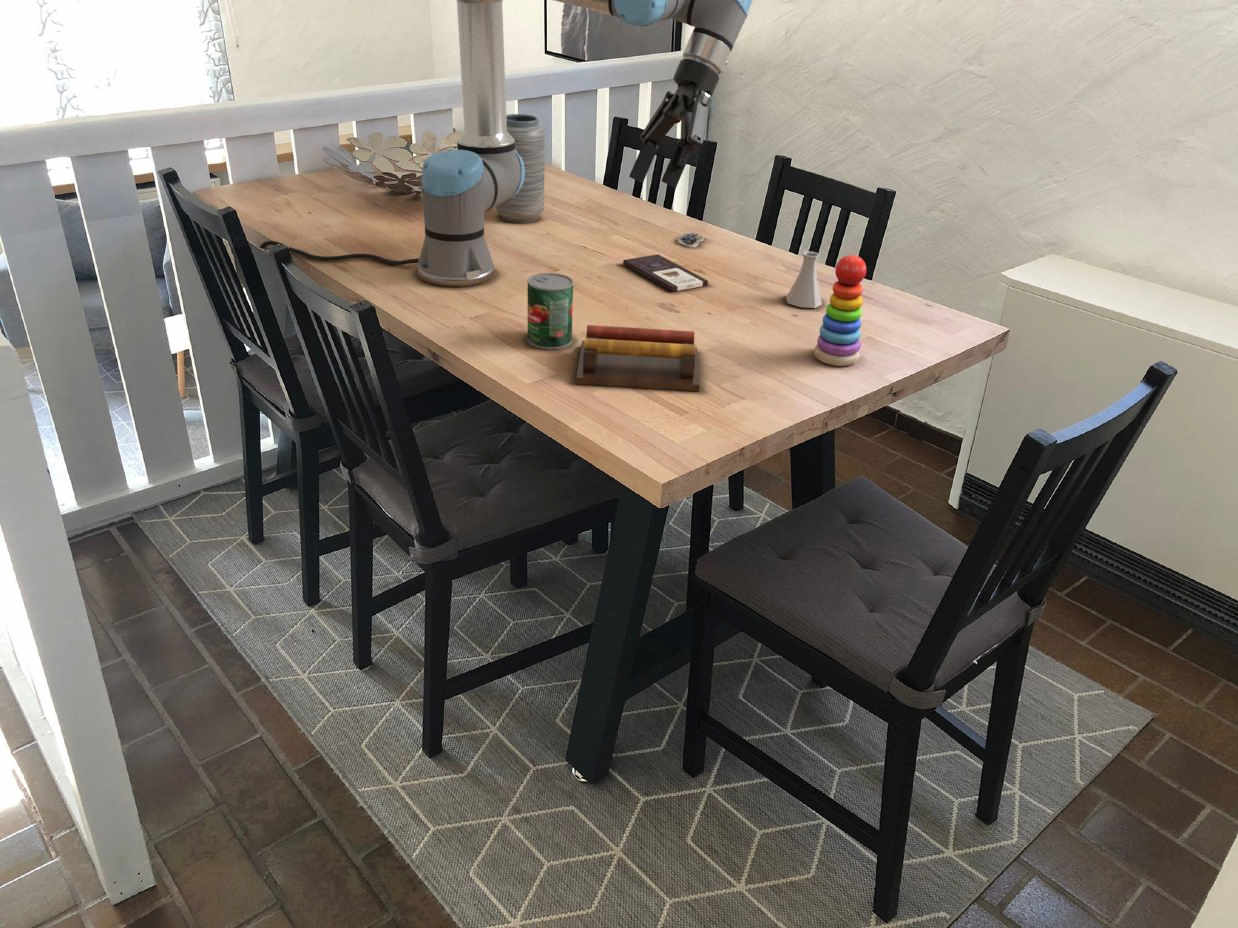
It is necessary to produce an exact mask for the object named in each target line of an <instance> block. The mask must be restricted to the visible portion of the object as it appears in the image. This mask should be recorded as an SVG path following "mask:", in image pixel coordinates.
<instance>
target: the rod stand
mask: <svg viewBox="0 0 1238 928" xmlns="http://www.w3.org/2000/svg"><path fill="white" fill-rule="evenodd" d="M695 336H696V335H695V331H694V330H693V331H692V330H680V329H679V330H678V329H662V328H661V329H660V328H647V327H646V328H645V327H631V326H630V327H629V326H612V325H598V324H597V325H596V324H587V325H586V335H585V338H584V340H582V341H581V346H580V350H579V357H578V363H577V369H576V374H575V384H576V385H585V386H587V385H588V386H603V387H604V386H605V387H620V388H635V389H650V390H651V389H652V390H653V389H654V390H668V391H684V392H700V390H701V389H700V388H701V383H700V382H701V381H700V369H699V367H700V366H699V357H698V348H697V347H696V346H697V345H696V344H695Z"/></svg>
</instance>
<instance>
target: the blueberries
mask: <svg viewBox="0 0 1238 928" xmlns="http://www.w3.org/2000/svg"><path fill="white" fill-rule="evenodd" d="M704 241H707V238H706V237H705V236H702V235H700V234H698V233H694V232H692V233H691V232H690V233H684V234H681V235H679V237H678V238H677V241H676V243H678V244H681V245H682V246H684V247H686V248H697V247H698V246H699V245H700V243H702V242H704Z"/></svg>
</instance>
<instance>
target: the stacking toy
mask: <svg viewBox="0 0 1238 928" xmlns="http://www.w3.org/2000/svg"><path fill="white" fill-rule="evenodd" d="M834 271H835V278H837V280H836V281H835V282H834V283H833V285H832V294H831V295H830V297H829V303H828V304H827V305H826V308H825V314H824V315H823V316H822V324H821V326H820V327H819V335H818V337H817V339H816V340H817V341H816V343H817V344H816V345H815V346H814V348H813V355H814V357H815V359H816V360H818V361H820V362H822V363H824V364H827V365H830V366H836V367H847V366H851V365H855V364H856V363H857V362H858V361H859V360H860V358H861V357H860V356H861V353H860V349H861V347H862V342H861V340H860V338H861V330H860V328H861V326H862V320H861V317H862V314H863V311H862V308H861V307H862V306H863V304H864V299H863V297H862V296H861V295H862V294H863V290H864V289H863V286H862V284H861V282H862V281H863V280H864V279H865V277H866V274H867V265H866V262H865V261H864V260H863V258H861V256H858V255H856V254H855V255H853V254H848V255H845V256H843V257H842V258H840V259H839V260H838V262H837V263H836V265H835V270H834Z"/></svg>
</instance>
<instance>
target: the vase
mask: <svg viewBox="0 0 1238 928" xmlns="http://www.w3.org/2000/svg"><path fill="white" fill-rule="evenodd" d="M506 120H507V132H508V133H509V134H510V135H511V136H512V137H513V138H514V140H515V150H516V151H517V152H518V155H519V156H521V158H522V160H523V163H524V167H525V178H524V182H523V185H522V187H521V189H520V191H519V192H518V193H517V194H516V195H515V196H514V197H513V198H512V199H510V200H509V201H508V202H506V203H505V204H503V205H499V206H497V207H495V210H496V212H497V213H498V214H499V215H500V217H501V219H502V220H504V221H505V222H510V223H516V224H525V223H527V224H528V223H532V222H535V221H537V220H538V218H539V216H541V215H542V213H543V212H544V210H545V174H546V173H545V171H546V170H545V169H546V167H545V165H546V162H545V161H546V131H545V129H544V127H543V126H542V124H540V119H539V117H537V116H535V115H532V114H523V113H510V114H506Z"/></svg>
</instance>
